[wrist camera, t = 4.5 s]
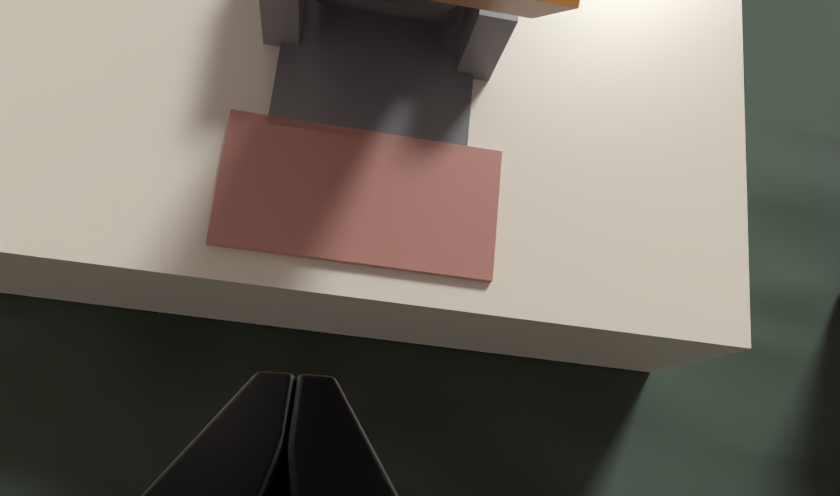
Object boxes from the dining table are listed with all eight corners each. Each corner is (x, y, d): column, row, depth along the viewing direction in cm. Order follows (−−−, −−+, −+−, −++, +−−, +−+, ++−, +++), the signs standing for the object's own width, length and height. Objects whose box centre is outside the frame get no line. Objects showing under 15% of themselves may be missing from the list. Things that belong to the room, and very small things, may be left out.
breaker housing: (650, 372, 21) (826, 330, 14) (-11, 291, 19) (-198, 194, 12) (655, -41, 25) (794, -238, 18) (107, -146, 23) (19, -415, 16)
